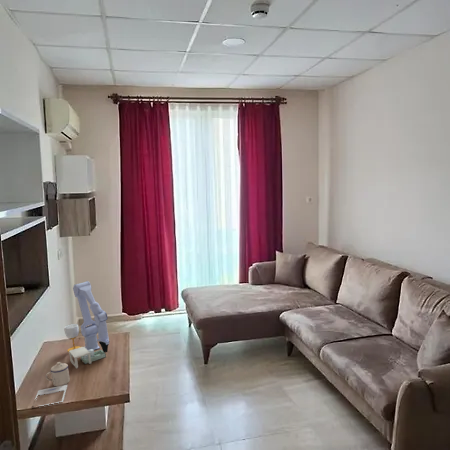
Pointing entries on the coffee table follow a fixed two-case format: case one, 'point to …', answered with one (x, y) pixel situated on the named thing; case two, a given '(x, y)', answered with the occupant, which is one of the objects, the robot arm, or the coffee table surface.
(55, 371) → the teacup with lid
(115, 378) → the coffee table surface
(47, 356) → the coffee table surface
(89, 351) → the round-ended grey cylinder
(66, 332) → the cup
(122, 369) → the coffee table surface
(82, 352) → the shelf
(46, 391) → the photo frame
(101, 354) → the tray
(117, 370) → the coffee table surface
